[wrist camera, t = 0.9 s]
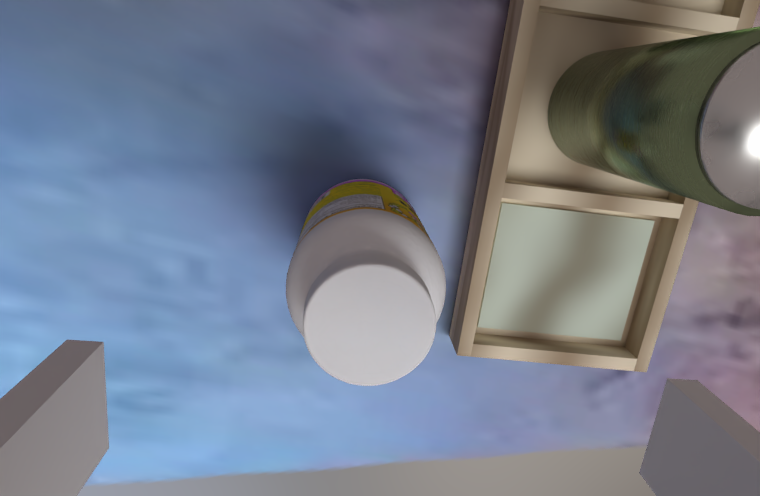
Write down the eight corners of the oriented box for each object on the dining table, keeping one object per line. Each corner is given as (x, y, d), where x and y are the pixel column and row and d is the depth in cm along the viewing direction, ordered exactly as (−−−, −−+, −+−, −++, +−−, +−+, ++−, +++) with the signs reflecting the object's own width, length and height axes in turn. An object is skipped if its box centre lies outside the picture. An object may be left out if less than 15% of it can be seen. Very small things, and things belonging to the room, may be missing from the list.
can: (536, 159, 29) (669, 208, 17) (561, 42, 27) (728, 5, 15) (640, 172, 29) (840, 228, 17) (670, 59, 27) (915, 35, 16)
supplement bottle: (426, 275, 31) (475, 395, 19) (317, 295, 31) (296, 428, 19) (408, 165, 29) (451, 220, 17) (293, 186, 29) (252, 256, 17)
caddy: (449, 335, 32) (457, 355, 30) (551, -225, 24) (573, -260, 22) (625, 352, 33) (646, 372, 31) (779, -181, 25) (824, -209, 23)
